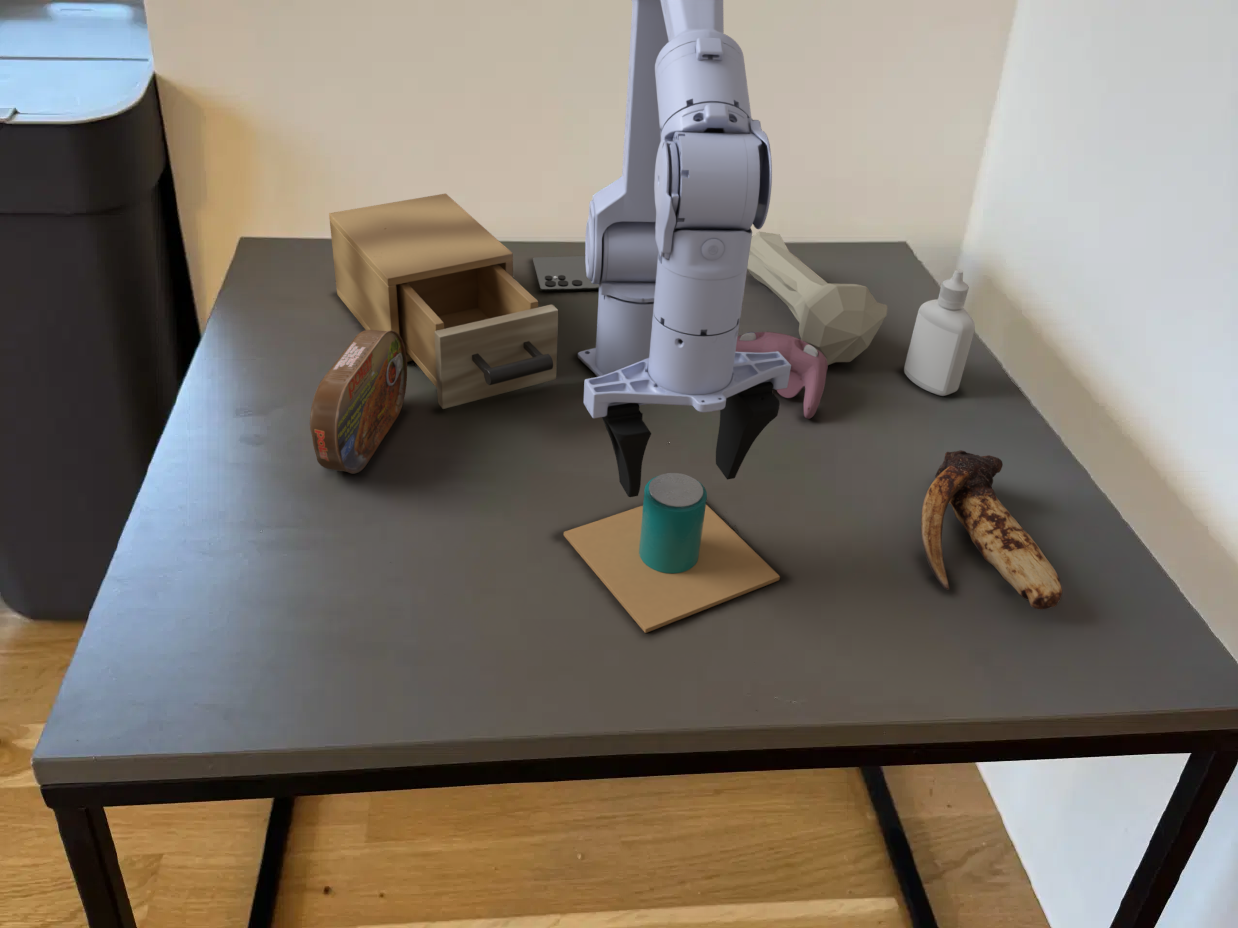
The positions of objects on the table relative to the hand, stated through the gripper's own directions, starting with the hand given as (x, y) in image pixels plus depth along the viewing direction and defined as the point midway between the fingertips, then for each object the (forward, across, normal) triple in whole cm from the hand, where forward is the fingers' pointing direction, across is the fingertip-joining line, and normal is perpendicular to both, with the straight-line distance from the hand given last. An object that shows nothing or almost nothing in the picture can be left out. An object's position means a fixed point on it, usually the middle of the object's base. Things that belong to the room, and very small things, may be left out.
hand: (677, 479), depth 80 cm
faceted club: (+8, +28, +32) cm, 43 cm away
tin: (+8, -19, +22) cm, 30 cm away
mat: (+7, 0, 0) cm, 7 cm away
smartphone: (+8, +12, +46) cm, 48 cm away
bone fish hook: (+8, +24, -6) cm, 25 cm away
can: (+7, 0, 0) cm, 7 cm away
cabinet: (+8, -10, +42) cm, 44 cm away
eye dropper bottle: (+8, +34, +17) cm, 39 cm away
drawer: (+7, -8, +29) cm, 31 cm away
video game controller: (+8, +18, +19) cm, 27 cm away
